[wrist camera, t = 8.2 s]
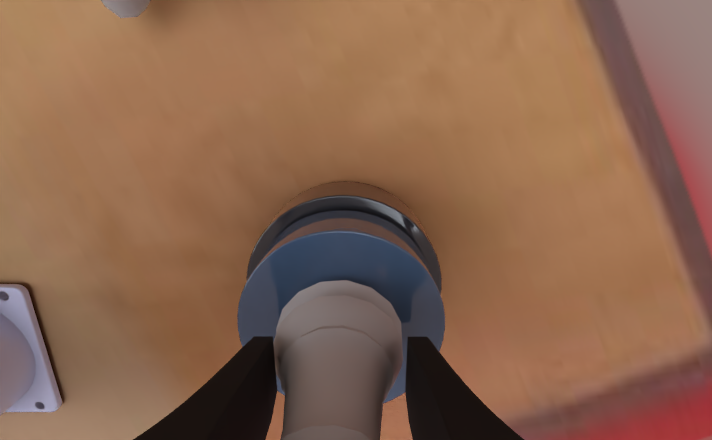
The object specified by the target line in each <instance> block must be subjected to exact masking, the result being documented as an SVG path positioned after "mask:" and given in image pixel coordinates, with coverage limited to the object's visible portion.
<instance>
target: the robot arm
mask: <svg viewBox="0 0 712 440" xmlns="http://www.w3.org/2000/svg"><path fill="white" fill-rule="evenodd" d="M6 293H7V294H8V295H7V294H6ZM405 392H406V401H407V409H408V417H409V424H410V428H411V433H412V437H413V440H524V439H523V438H522V437H520V436H519V435H518V434H517V433H515V432H514V431H513V430H512V429H511V428H510V427H508V426H507V425H506V424H505V423H504V422H503V421H502V420H501V419H499V418H498V417H497V416H496V415H495V414H494V413H493V412H492V411H491V410H490V409H489V408H488V407H487V406H486V405H485V404H484V403H483V402H482V401H481V400H480V399H479V398H478V397H477V396H476V395H475V394H474V393H473V392H472V391H471V390H470V389H469V387H468V386H467V385H466V384H465V383H464V382H463V381H462V379H461V378H460V377H459V376H458V375H457V374H456V372H455V371H454V370H453V369H452V368H451V366H450V365H449V364H448V363H447V361H446V360H445V359H444V358H443V356H442V355H441V354H440V352H439V351H438V350H437V348H436V347H435V346H434V344H433V343H432V342H431V340H430V339H429V338H428V337H408V341H407V362H406V384H405ZM276 393H277V380H276V368H275V356H274V344H273V336H254V337H253V338H252V339H251V340H250V341H249V342H247V343H246V344H245V345H244V346H243V347H242V348H241V349H240V350H239V352H238V353H237V354H236V355H235V356H234V357H233V358H232V359H231V360H230V361H229V362H228V363H227V364H226V365H225V366H224V367H222V368H221V369H220V370H219V371H218V372H217V373H216V374H215V375H214V376H213V377H212V378H211V379H210V380H209V381H208V382H207V383H206V384H205V385H203V386H202V387H201V388H200V389H199V390H198V391H197V392H195V393H194V394H193V395H192V396H191V397H190V398H189V399H188V400H186V401H185V402H184V403H183V404H181V405H180V406H179V407H178V408H176V409H175V410H174V411H173V412H171V413H170V414H169V415H167V416H166V417H165V418H163V419H162V420H161V421H159V422H158V423H157V424H155V425H154V426H153V427H151V428H150V429H148V430H147V431H145V432H144V433H142V434H141V435H139V436H138V437H136V438H135V439H133V440H265V439H266V435H267V432H268V429H269V426H270V423H271V418H272V414H273V409H274V404H275V398H276ZM61 405H62V400H61V396H60V393H59V390H58V386H57V383H56V380H55V377H54V373H53V370H52V367H51V364H50V360H49V357H48V354H47V350H46V347H45V344H44V341H43V337H42V334H41V331H40V328H39V324H38V321H37V318H36V314H35V311H34V308H33V305H32V301H31V298H30V295H29V292H28V290H27V289H26V288H25V287H24V286H22V285H19V284H0V415H2V414H3V413H4V412H54V411H56V410H57V409H58V408H59V407H60V406H61Z"/></svg>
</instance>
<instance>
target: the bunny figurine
mask: <svg viewBox="0 0 712 440" xmlns="http://www.w3.org/2000/svg"><path fill="white" fill-rule="evenodd" d="M101 1H102V3H103V4H104V6H105V7H107V8H108V9H109V10H111V11H112V12H113V13H115V14H116V15H117V16H119V17H120V18H125V17H137V16H139V15H140V14H141V13H142V12H143V11H144V10H145V9H146V8H147V6H148V4H149V2H150V1H151V0H101Z"/></svg>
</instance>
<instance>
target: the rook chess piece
mask: <svg viewBox="0 0 712 440" xmlns="http://www.w3.org/2000/svg"><path fill="white" fill-rule="evenodd" d="M273 344H274V356H275V368H276V375H277V376H278V378H279V379H280V382H281V389H282V390H283V392H284V393H285V405H284V419H283V431H282V435H281V440H380V431H381V420H382V409H383V402H384V401H385V400H386V398H387V395H388V393H389V391H390V389H391V388H392V387H393V385H394V383H395V380H396V378H397V376H398V374H399V371H400V369H401V366H402V362H403V350H402V331H401V321H400V320H399V318H398V316H397V314H396V312H395V310H394V308H393V306H392V304H391V303H390V302H389V301H388V300H386V299H385V298H384V297H383V296H381V295H380V294H379V293H378V292H376V291H375V290H374V289H373V288H371V287H368V286H364V285H361V284H358V283H354V282H351V281H348V280H342V281H325V282H319V283H317V284H315V285H313V286H310V287H308V288H306V289H304V290H302V291H299V292H298V293H297V294H296V295H295V296H294V297H293V298H292V299H291V300H290V301H289V302H288V304H287V305H286V306H285V307H284V308H283V309H282V312H281V315H280V318H279V322H278V325H277V328H276V336H275V339H274V342H273Z"/></svg>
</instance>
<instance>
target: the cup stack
mask: <svg viewBox="0 0 712 440" xmlns="http://www.w3.org/2000/svg"><path fill="white" fill-rule="evenodd" d="M342 280H348V281H351V282H354V283H358V284H361V285H364V286H368V287H371V288H373V289H374V290H375V291H376V292H378V293H379V294H380V295H381V296H383V297H384V298H385V299H386V300H388V301H389V302H390V303H391V304H392V306H393V308H394V310H395V312H396V314H397V316H398V318H399V320H400V321H401V331H402V350H403V362H402V366H401V369H400V371H399V374H398V376H397V378H396V380H395V383H394V385H393V387H392V388H391V389H390V391H389V393H388V395H387V398H386V400H385V401H384V402H383V403H386V402H388V401H391V400H393V399H394V398H396V397H398V396H400V395H402V394H403V393H405V384H406V362H407V341H408V337H428V338H429V339H430V340H431V342H432V343H433V344H434V346H435V347H436V348H437V350H438V351H440V348H441V345H442V341H443V337H444V331H445V312H444V305H443V301H442V298H441V271H440V265H439V262H438V259H437V255H436V253H435V251H434V249H433V247H432V244H431V242H430V240H429V239H428V237H427V235H426V233H425V231H424V229H423V227H422V225H421V223H420V222H419V220H418V219H417V217H416V216H415V214H414V213H413V212H412V211H411V210H410V209H409V208H408V206H406V205H405V204H404V203H403V202H402V201H401V200H400V199H398V198H397V197H395V196H393V195H392V194H390V193H389V192H387V191H384V190H382V189H380V188H378V187H375V186H372V185H369V184H364V183H359V182H347V181H343V182H331V183H326V184H321V185H318V186H316V187H313V188H310V189H308V190H306V191H304V192H302V193H300V194H298V195H297V196H295V197H294V198H293V199H291V200H290V201H289V202H288V203H287V204H285V205H284V206H283V207H282V208H281V210H280V211H279V212H278V213H277V214H276V216H275V217H274V218H273V220H272V221H271V222H270V224H269V225H268V227H267V228H266V229H265V231H264V232H263V233H262V235H261V237H260V238H259V240H258V241H257V243H256V245H255V247H254V249H253V252H252V254H251V257H250V261H249V264H248V270H247V282H246V284H245V286H244V289H243V291H242V294H241V297H240V301H239V306H238V315H237V319H238V331H239V336H240V341H241V344H242V347H243V346H244V345H245V344H246V343H247V342H249V341H250V340H251V339H252V338H253V337H254V336H273V342H274V339H275V336H276V328H277V325H278V322H279V318H280V315H281V312H282V309H283V308H284V307H285V306H286V305H287V304H288V302H289V301H290V300H291V299H292V298H293V297H294V296H295V295H296V294H297V293H298V292H299V291H302V290H304V289H306V288H308V287H310V286H313V285H315V284H317V283H319V282H325V281H342ZM276 380H277V391H279V392H280V393H282V394H283V395H285V393H284V392H283V390H282V389H281V382H280V379H279V378H278V376H277V375H276Z"/></svg>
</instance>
